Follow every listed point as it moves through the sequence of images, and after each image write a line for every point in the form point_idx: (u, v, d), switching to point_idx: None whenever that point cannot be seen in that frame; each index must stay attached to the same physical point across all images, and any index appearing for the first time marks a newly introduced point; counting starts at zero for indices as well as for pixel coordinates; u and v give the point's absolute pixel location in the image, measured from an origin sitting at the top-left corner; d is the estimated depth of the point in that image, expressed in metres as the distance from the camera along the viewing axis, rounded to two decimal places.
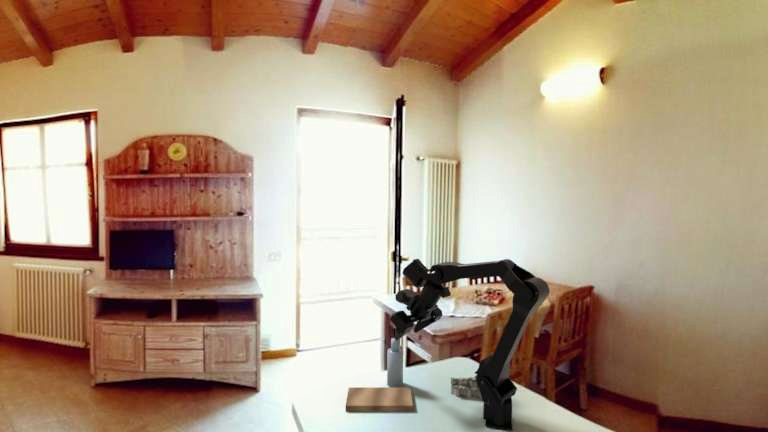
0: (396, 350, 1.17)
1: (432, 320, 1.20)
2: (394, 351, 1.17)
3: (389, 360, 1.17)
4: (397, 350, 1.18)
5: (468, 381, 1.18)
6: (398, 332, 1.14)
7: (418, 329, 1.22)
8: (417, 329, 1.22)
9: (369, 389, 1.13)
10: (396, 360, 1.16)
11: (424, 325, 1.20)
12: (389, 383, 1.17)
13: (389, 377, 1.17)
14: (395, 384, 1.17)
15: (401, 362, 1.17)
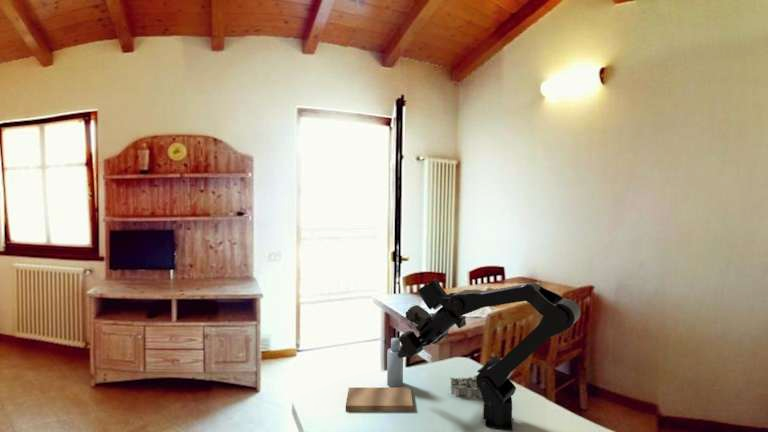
0: (396, 350, 1.17)
1: (437, 339, 1.17)
2: (394, 351, 1.17)
3: (389, 360, 1.17)
4: (397, 350, 1.18)
5: (468, 381, 1.18)
6: (404, 351, 1.10)
7: None
8: None
9: (369, 389, 1.13)
10: (396, 360, 1.16)
11: (427, 343, 1.17)
12: (389, 383, 1.17)
13: (389, 377, 1.17)
14: (395, 384, 1.17)
15: (401, 362, 1.17)
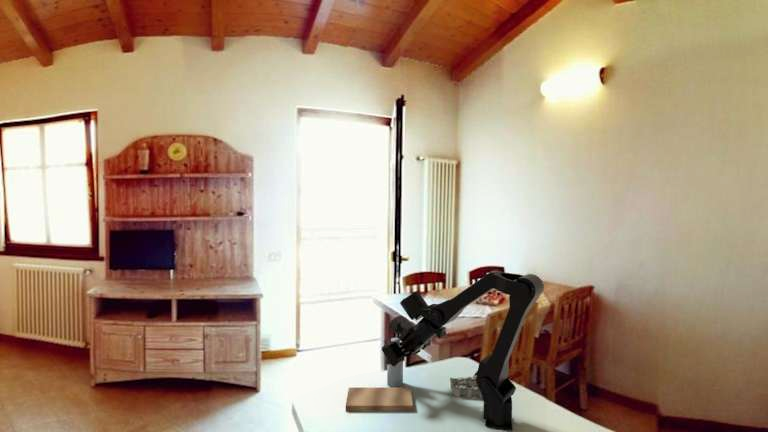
0: None
1: (416, 350, 1.19)
2: None
3: None
4: None
5: (467, 381, 1.18)
6: None
7: None
8: None
9: (369, 389, 1.13)
10: None
11: (407, 354, 1.19)
12: (389, 383, 1.17)
13: (389, 377, 1.17)
14: (395, 384, 1.17)
15: (401, 362, 1.17)
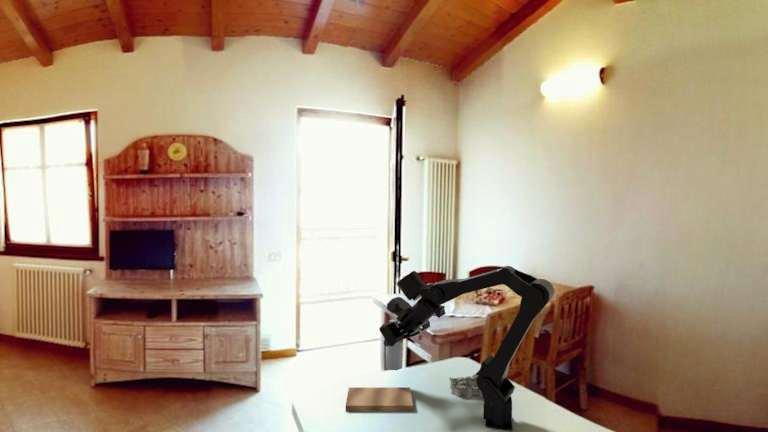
0: None
1: (415, 332, 1.17)
2: None
3: None
4: None
5: (466, 380, 1.18)
6: None
7: None
8: None
9: (369, 389, 1.13)
10: None
11: (406, 336, 1.17)
12: (388, 365, 1.16)
13: (388, 359, 1.16)
14: (394, 366, 1.15)
15: (400, 344, 1.15)
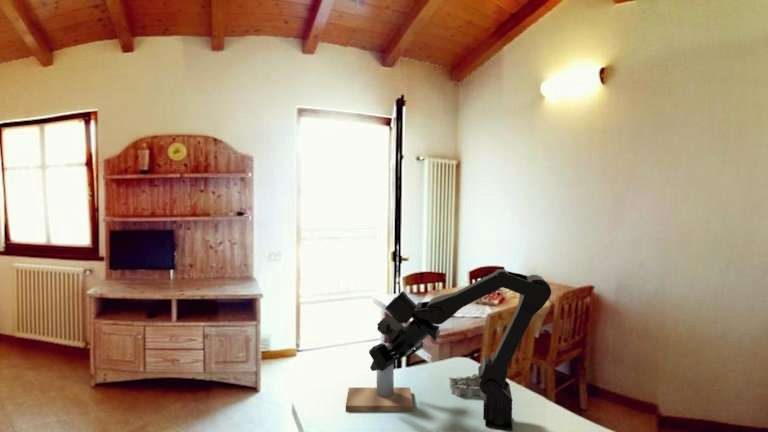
0: None
1: (411, 352, 1.11)
2: None
3: None
4: None
5: (466, 380, 1.19)
6: (376, 364, 1.05)
7: (394, 358, 1.13)
8: (393, 357, 1.13)
9: (369, 389, 1.13)
10: None
11: None
12: (378, 392, 1.09)
13: (378, 386, 1.09)
14: (385, 393, 1.08)
15: (391, 369, 1.09)
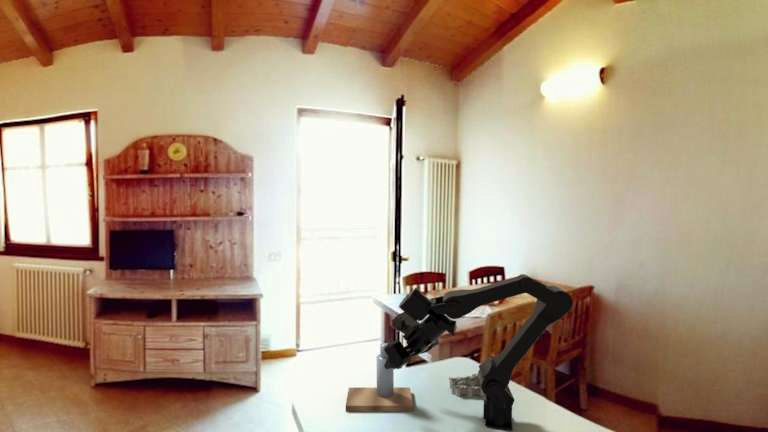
0: (386, 356, 1.09)
1: (427, 348, 1.09)
2: (384, 358, 1.09)
3: (378, 367, 1.09)
4: (387, 356, 1.09)
5: (466, 380, 1.19)
6: (390, 362, 1.02)
7: (409, 355, 1.10)
8: None
9: (369, 389, 1.13)
10: None
11: None
12: (378, 392, 1.09)
13: (378, 386, 1.09)
14: (385, 393, 1.08)
15: (391, 369, 1.09)
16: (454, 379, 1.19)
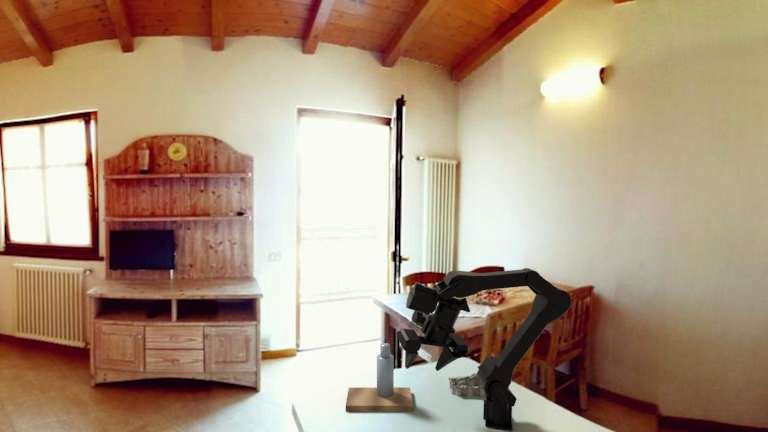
0: (386, 357, 1.09)
1: (454, 355, 1.00)
2: (384, 358, 1.09)
3: (378, 367, 1.09)
4: (387, 357, 1.09)
5: (465, 380, 1.19)
6: (407, 356, 0.98)
7: (439, 366, 1.03)
8: (438, 366, 1.03)
9: (369, 389, 1.13)
10: (386, 368, 1.08)
11: (445, 360, 1.01)
12: (378, 392, 1.09)
13: (378, 386, 1.09)
14: (385, 393, 1.08)
15: (391, 369, 1.09)
16: (454, 379, 1.19)
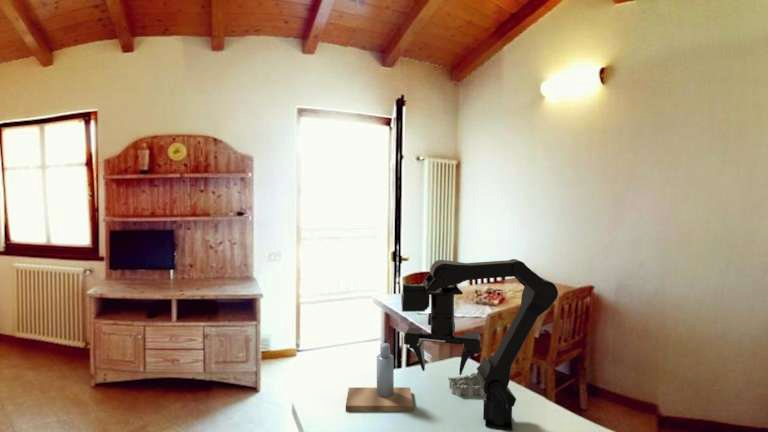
0: (386, 357, 1.09)
1: (466, 351, 0.94)
2: (384, 358, 1.09)
3: (378, 367, 1.09)
4: (387, 357, 1.09)
5: (465, 379, 1.19)
6: None
7: None
8: None
9: (369, 389, 1.13)
10: (386, 368, 1.08)
11: (461, 359, 0.95)
12: (378, 392, 1.09)
13: (378, 385, 1.09)
14: (385, 393, 1.08)
15: (391, 370, 1.09)
16: (453, 379, 1.19)
